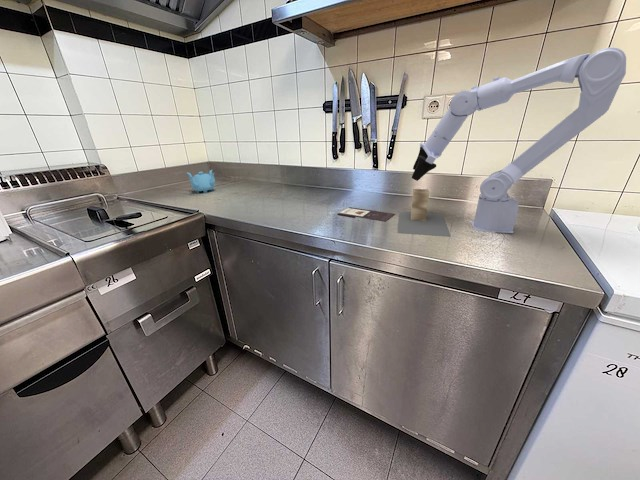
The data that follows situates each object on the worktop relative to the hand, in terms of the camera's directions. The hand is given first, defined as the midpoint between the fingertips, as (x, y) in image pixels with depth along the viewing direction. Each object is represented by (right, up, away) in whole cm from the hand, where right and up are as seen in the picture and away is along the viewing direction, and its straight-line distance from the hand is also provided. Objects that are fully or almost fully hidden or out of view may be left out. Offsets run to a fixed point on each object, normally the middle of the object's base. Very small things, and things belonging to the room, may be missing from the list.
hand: (414, 174), depth 86 cm
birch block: (+1, -14, 0) cm, 14 cm away
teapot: (-91, +4, +54) cm, 106 cm away
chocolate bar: (-15, -13, +7) cm, 21 cm away
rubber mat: (+1, -16, -3) cm, 17 cm away
